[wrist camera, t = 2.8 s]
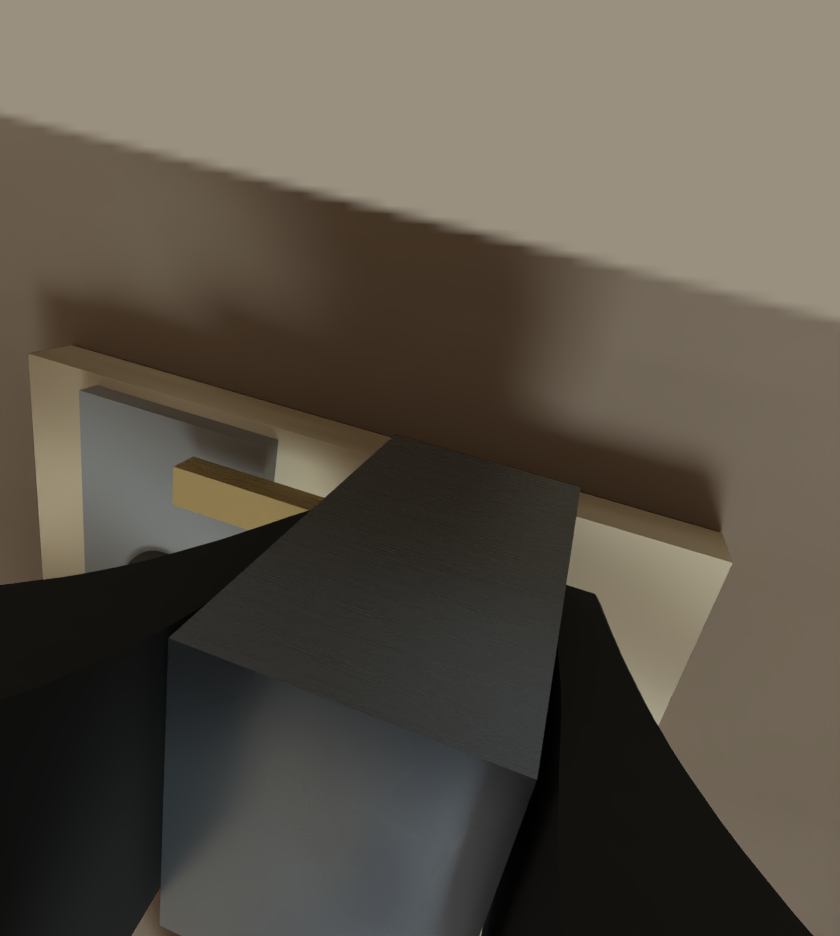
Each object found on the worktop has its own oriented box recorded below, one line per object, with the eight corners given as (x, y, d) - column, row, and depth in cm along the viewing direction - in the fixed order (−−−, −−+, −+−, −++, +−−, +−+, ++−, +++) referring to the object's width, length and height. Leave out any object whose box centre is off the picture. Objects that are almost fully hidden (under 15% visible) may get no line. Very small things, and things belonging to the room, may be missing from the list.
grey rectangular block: (519, 677, 12) (433, 1059, 6) (188, 560, 13) (-115, 790, 8) (580, 487, 10) (537, 781, 5) (196, 376, 11) (-179, 504, 6)
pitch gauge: (529, 972, 18) (507, 1160, 14) (86, 774, 21) (-25, 887, 17) (722, 533, 12) (767, 661, 8) (70, 345, 15) (-104, 380, 11)
